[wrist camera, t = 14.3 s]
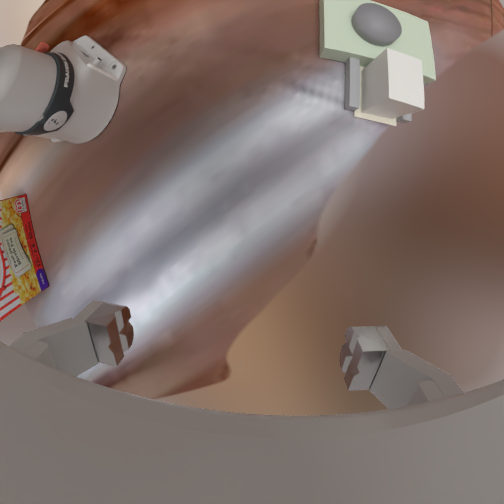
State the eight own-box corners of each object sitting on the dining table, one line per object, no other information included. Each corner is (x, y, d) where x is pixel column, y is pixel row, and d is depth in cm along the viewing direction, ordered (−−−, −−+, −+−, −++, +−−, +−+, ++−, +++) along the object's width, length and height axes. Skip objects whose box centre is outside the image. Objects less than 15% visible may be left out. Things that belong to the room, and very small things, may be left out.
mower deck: (423, 134, 34) (446, 132, 27) (317, 110, 34) (327, 100, 28) (417, 29, 27) (434, 16, 21) (319, 1, 28) (326, -19, 21)
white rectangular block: (390, 119, 33) (424, 109, 24) (360, 112, 33) (388, 98, 24) (390, 78, 31) (421, 60, 22) (361, 71, 31) (386, 47, 22)
